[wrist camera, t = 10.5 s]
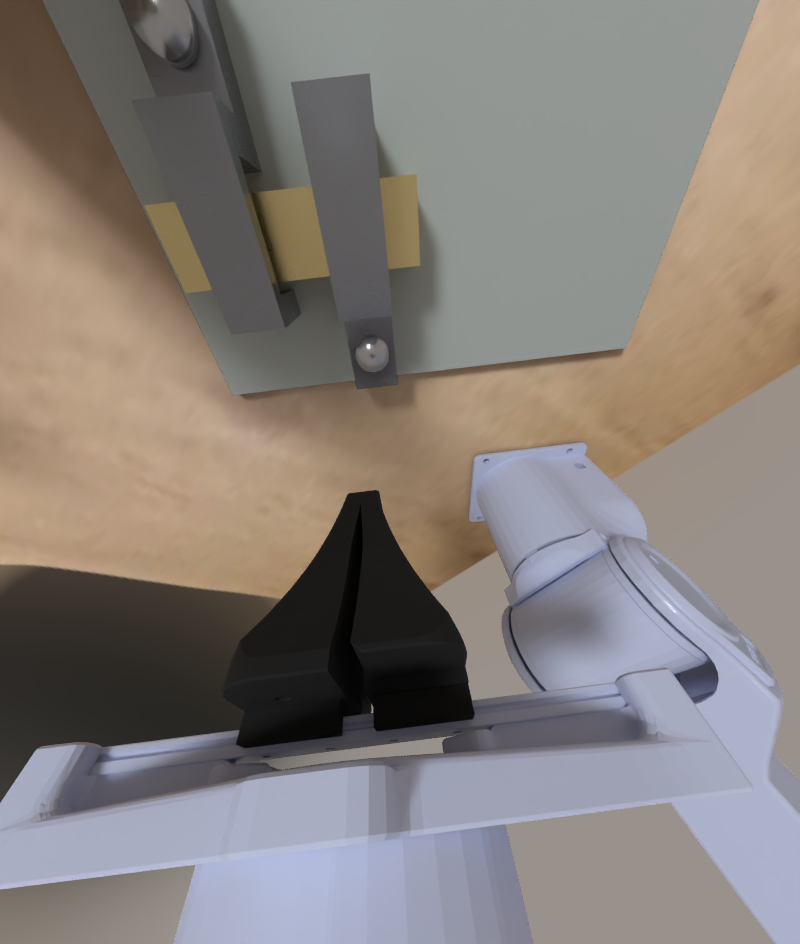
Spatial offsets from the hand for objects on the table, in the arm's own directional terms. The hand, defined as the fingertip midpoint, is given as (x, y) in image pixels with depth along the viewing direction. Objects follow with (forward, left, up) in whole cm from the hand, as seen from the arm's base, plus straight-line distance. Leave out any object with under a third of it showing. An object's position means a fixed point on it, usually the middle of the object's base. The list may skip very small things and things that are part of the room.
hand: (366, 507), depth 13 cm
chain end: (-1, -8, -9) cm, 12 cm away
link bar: (+2, -10, -9) cm, 14 cm away
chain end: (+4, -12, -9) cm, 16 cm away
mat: (-5, -10, -10) cm, 15 cm away
